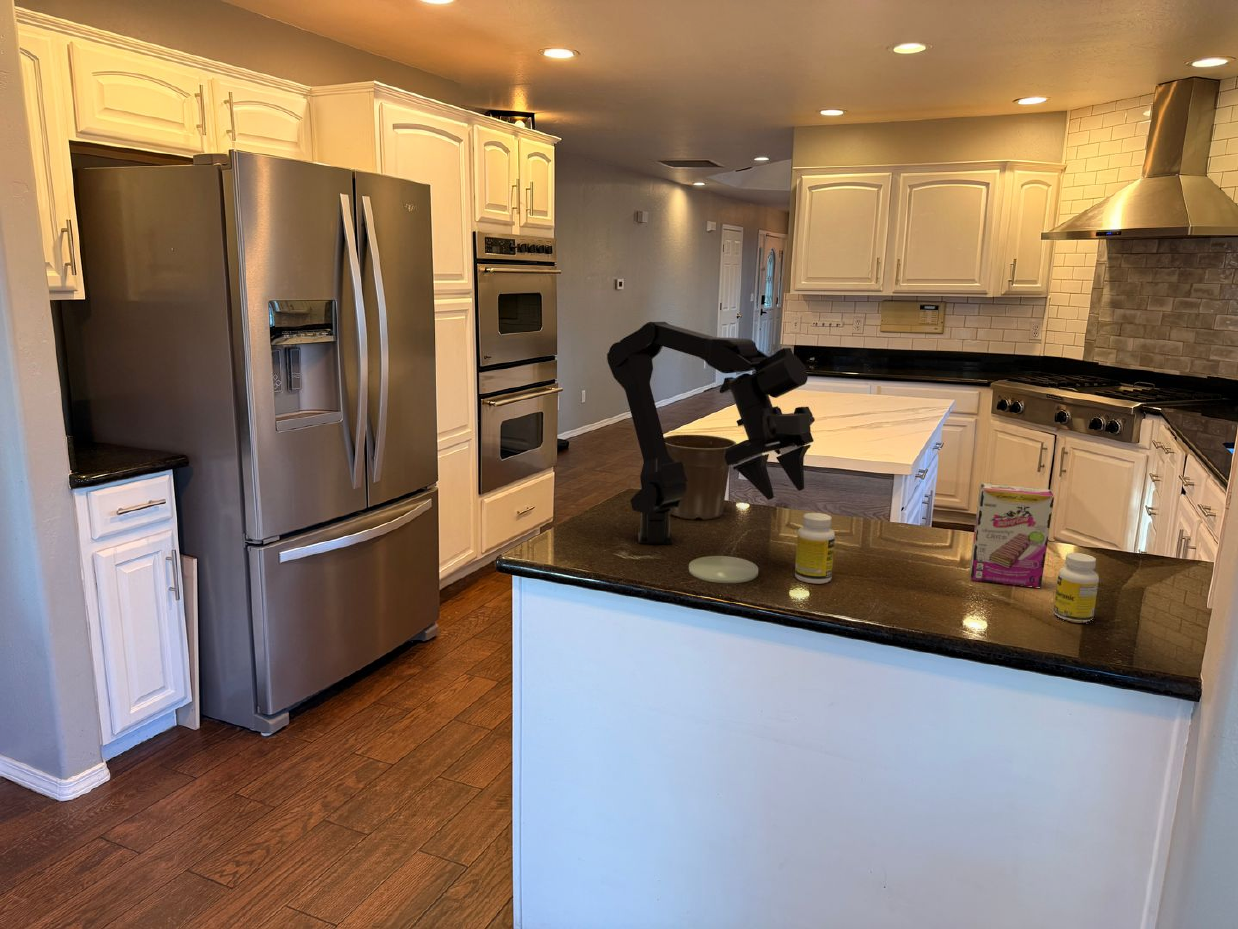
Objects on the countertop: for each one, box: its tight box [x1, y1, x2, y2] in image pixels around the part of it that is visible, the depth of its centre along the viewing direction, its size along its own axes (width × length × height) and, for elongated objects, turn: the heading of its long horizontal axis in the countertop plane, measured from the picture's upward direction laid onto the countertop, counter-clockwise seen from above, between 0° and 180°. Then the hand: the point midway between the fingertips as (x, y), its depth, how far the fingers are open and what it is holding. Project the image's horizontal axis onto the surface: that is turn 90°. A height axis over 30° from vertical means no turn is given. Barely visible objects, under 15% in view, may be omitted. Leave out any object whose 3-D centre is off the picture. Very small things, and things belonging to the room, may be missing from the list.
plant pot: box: [664, 434, 738, 521], centre depth 181 cm, size 16×16×16 cm
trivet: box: [688, 555, 759, 584], centre depth 145 cm, size 12×12×1 cm
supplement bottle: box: [1053, 552, 1100, 622], centre depth 126 cm, size 5×5×10 cm
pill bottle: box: [794, 512, 836, 585], centre depth 141 cm, size 6×6×11 cm
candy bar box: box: [969, 482, 1055, 588], centre depth 141 cm, size 11×5×16 cm, turn 71°
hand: (786, 494), depth 140 cm, fingers open, 9 cm apart
